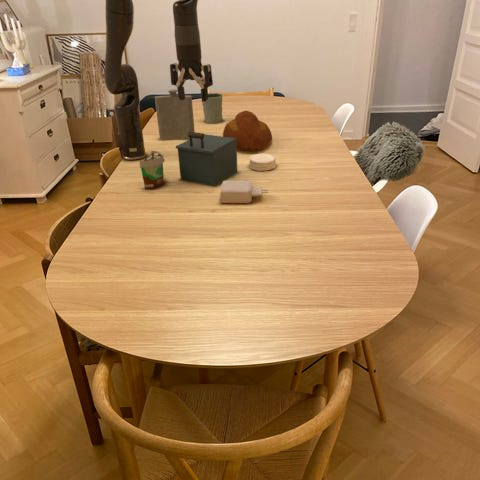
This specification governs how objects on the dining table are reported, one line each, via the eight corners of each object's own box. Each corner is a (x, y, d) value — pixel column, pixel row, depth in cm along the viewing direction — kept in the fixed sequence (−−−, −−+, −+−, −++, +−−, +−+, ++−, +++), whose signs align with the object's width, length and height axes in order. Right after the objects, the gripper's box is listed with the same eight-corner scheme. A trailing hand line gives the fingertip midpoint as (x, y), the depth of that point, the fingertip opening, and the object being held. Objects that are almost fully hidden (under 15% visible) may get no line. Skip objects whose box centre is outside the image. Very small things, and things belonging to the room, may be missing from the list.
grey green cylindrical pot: (227, 120, 235) (226, 93, 228) (215, 124, 228) (214, 98, 221) (210, 117, 239) (209, 92, 232) (198, 122, 233) (196, 96, 225)
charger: (267, 204, 149) (220, 204, 150) (268, 193, 156) (223, 193, 157) (268, 190, 146) (220, 189, 147) (268, 179, 153) (223, 179, 154)
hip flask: (159, 140, 210) (153, 91, 198) (160, 137, 213) (154, 89, 201) (194, 139, 209) (190, 90, 197) (195, 136, 212) (191, 88, 200)
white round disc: (243, 167, 177) (243, 158, 175) (261, 160, 183) (261, 151, 181) (264, 173, 172) (264, 163, 170) (281, 166, 178) (281, 156, 175)
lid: (211, 153, 155) (210, 136, 152) (175, 148, 161) (174, 131, 158) (236, 140, 167) (235, 124, 163) (201, 136, 173) (200, 120, 169)
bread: (224, 155, 189) (222, 123, 182) (222, 133, 216) (220, 104, 208) (276, 153, 190) (276, 121, 183) (267, 131, 216) (267, 102, 209)
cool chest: (215, 186, 163) (213, 153, 156) (180, 180, 169) (177, 147, 162) (237, 172, 173) (236, 140, 167) (204, 166, 179) (201, 136, 173)
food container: (160, 191, 160) (156, 162, 154) (143, 190, 161) (139, 161, 155) (171, 178, 170) (168, 150, 164) (155, 178, 171) (151, 150, 165)
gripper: (214, 41, 141) (218, 99, 150) (175, 40, 147) (181, 97, 156) (201, 44, 136) (205, 104, 145) (161, 43, 142) (168, 101, 151)
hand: (193, 100), depth 151 cm, fingers open, 8 cm apart
